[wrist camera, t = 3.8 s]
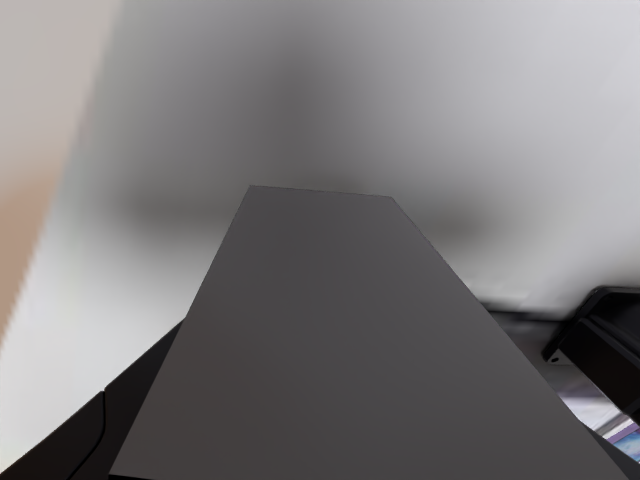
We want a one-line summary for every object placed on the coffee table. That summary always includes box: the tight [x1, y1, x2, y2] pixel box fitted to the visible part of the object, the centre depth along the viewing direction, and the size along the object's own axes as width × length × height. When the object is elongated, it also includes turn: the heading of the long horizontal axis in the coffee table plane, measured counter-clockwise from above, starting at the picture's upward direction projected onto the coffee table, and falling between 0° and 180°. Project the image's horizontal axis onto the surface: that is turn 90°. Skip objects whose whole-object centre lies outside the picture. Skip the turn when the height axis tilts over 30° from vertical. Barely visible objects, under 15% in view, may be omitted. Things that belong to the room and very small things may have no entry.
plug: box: [108, 185, 629, 480], centre depth 6 cm, size 4×5×8 cm
